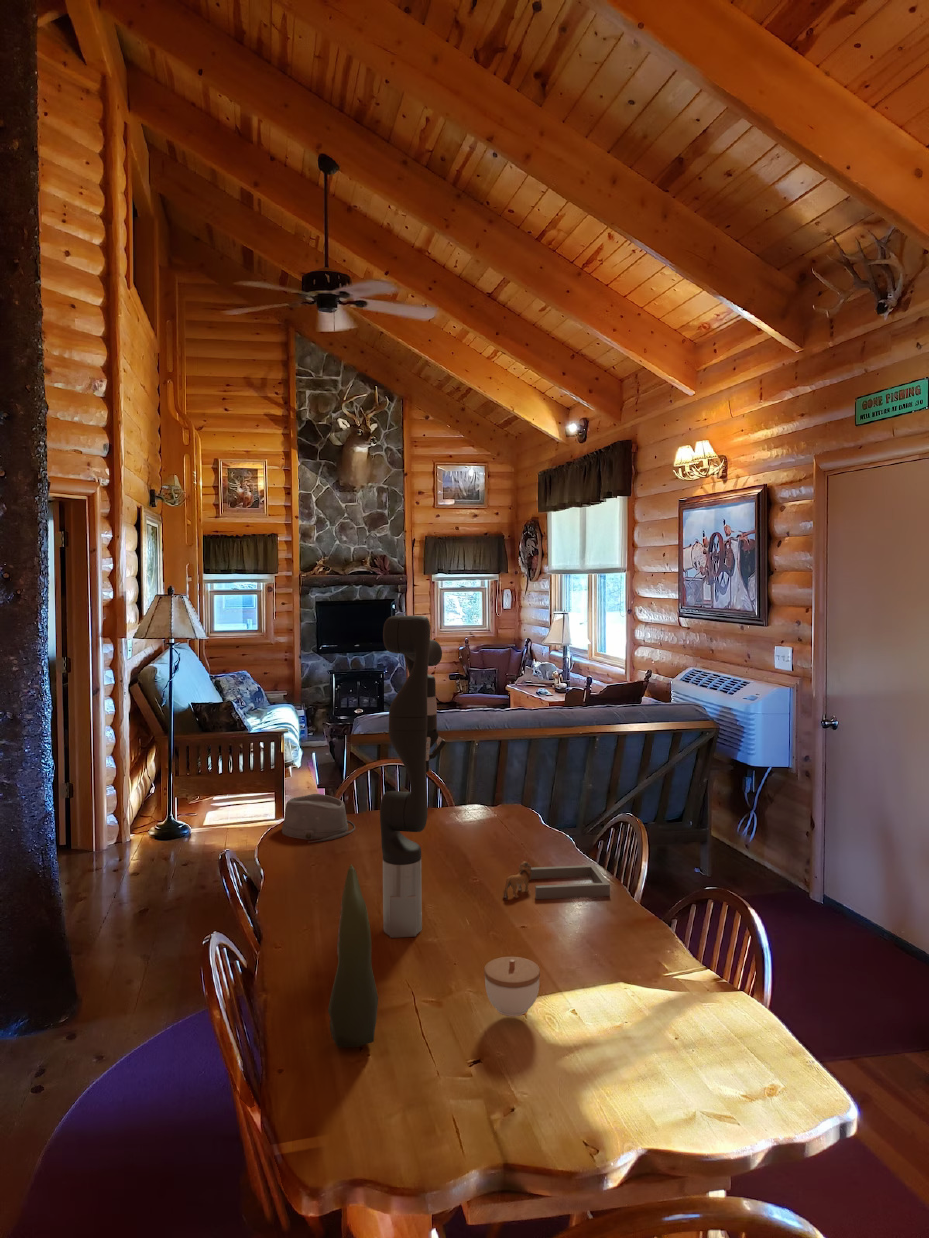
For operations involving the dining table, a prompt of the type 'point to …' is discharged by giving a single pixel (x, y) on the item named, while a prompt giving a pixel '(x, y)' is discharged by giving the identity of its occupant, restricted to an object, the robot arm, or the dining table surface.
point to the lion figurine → (519, 879)
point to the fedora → (315, 818)
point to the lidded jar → (512, 984)
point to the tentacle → (353, 972)
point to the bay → (570, 890)
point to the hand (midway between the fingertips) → (423, 773)
